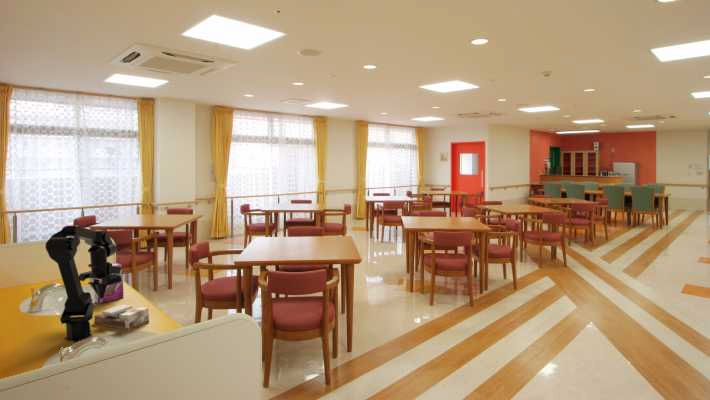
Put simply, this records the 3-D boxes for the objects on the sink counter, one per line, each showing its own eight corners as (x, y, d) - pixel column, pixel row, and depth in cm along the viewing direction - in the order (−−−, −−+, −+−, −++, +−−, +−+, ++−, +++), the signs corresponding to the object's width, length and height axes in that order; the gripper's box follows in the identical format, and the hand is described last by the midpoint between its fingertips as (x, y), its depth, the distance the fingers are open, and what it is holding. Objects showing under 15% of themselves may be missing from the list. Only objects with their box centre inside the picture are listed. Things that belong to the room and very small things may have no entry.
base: (129, 330, 160) (128, 315, 160) (94, 323, 168) (93, 308, 168) (149, 322, 168) (148, 308, 168) (115, 315, 176) (114, 301, 176)
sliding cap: (112, 323, 164) (111, 313, 163) (102, 322, 166) (102, 311, 166) (132, 316, 172) (131, 305, 172) (123, 314, 174) (122, 304, 174)
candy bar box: (98, 304, 192) (96, 269, 190) (94, 302, 195) (92, 267, 193) (124, 298, 200) (122, 264, 199) (120, 296, 203) (118, 262, 202)
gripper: (132, 258, 174) (134, 295, 176) (102, 255, 182) (105, 290, 184) (107, 264, 164) (109, 303, 166) (76, 260, 172) (79, 297, 173)
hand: (101, 298), depth 172 cm, fingers closed
